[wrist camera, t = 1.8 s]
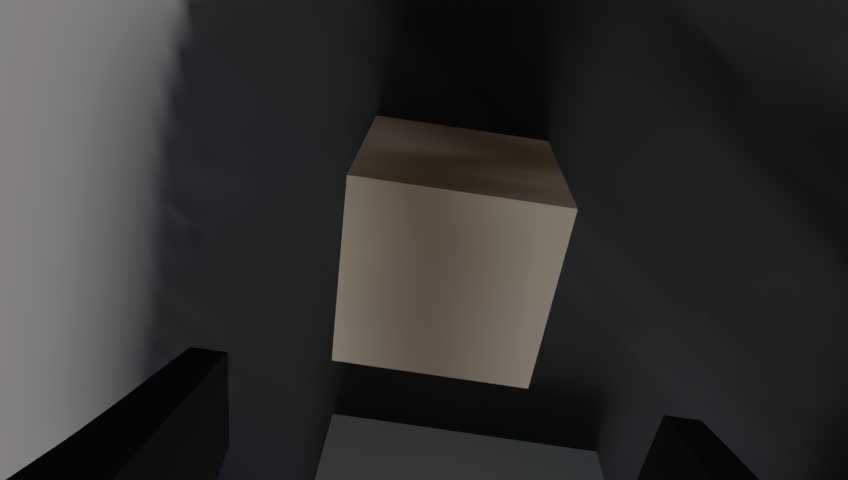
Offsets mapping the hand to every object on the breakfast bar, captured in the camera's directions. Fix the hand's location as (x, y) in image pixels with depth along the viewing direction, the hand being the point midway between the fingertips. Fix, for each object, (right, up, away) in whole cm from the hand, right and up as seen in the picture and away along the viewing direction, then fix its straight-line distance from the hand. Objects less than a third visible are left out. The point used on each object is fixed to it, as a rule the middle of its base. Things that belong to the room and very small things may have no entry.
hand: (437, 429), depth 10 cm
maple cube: (+1, +4, +8) cm, 9 cm away
